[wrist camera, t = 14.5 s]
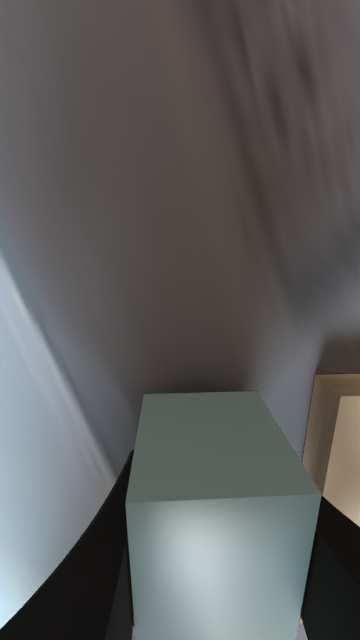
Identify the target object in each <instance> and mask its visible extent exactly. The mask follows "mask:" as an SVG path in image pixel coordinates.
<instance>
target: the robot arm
mask: <svg viewBox="0 0 360 640" xmlns="http://www.w3.org/2000/svg"><path fill="white" fill-rule="evenodd" d="M133 455H134V450H132V451H131V452H130V454H129V457H128V459H127V461H126V463H125V465H124V468H123V470H122V472H121V473H120V475H119V477H118V479H117V481H116V483H115V485H114V486H113V488H112V490H111V492H110V493H109V495H108V497H107V498H106V500H105V502H104V503H103V505H102V506H101V508H100V510H99V511H98V513H97V514H96V516H95V517H94V519H93V520H92V522H91V523H90V525H89V526H88V528H87V529H86V530H85V532H84V533H83V535H82V536H81V537H80V539H79V540H78V541H77V543H76V544H75V545H74V547H73V548H72V549H71V550H70V552H69V553H68V554H67V556H66V557H65V558H64V559H63V561H62V562H61V563H60V564H59V566H58V567H57V568H56V569H55V570H54V572H53V573H52V574H51V575H50V576H49V577H48V579H47V580H46V581H45V582H44V583H43V584H42V585H41V586H40V588H39V589H38V590H37V591H36V592H35V593H34V594H33V595H32V597H31V598H30V599H29V600H28V601H27V602H26V603H25V604H24V606H23V607H22V608H21V609H20V610H19V611H18V612H17V613H16V614H15V615H14V616H13V617H12V618H11V619H10V620H9V621H8V622H7V623H6V624H5V625H4V626H3V627H2V628H1V629H0V640H136V636H135V625H134V626H133V619H134V610H133V597H132V584H131V571H130V558H129V545H128V531H127V518H126V505H125V502H126V496H127V490H128V484H129V478H130V472H131V467H132V461H133ZM300 615H301V618H302V622H303V625H304V628H305V632H306V635H307V638H308V640H360V527H359V526H358V525H357V524H355V523H354V522H353V521H352V520H350V519H349V518H348V517H347V516H345V515H344V514H343V513H342V512H341V511H339V510H338V509H337V508H336V507H335V506H333V505H332V504H331V503H330V502H329V501H328V500H327V499H325V498H324V497H323V496H321V501H320V507H319V513H318V518H317V524H316V529H315V535H314V540H313V546H312V552H311V557H310V563H309V568H308V574H307V579H306V585H305V591H304V596H303V602H302V607H301V613H300Z"/></svg>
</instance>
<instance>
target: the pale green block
mask: <svg viewBox="0 0 360 640" xmlns="http://www.w3.org/2000/svg"><path fill="white" fill-rule="evenodd" d="M321 496H322V494H321V492H320V490H319V489H318V487H317V486H316V484H315V482H314V481H313V479H312V478H311V476H310V475H309V473H308V471H307V470H306V468H305V467H304V465H303V464H302V462H301V460H300V459H299V457H298V456H297V454H296V453H295V451H294V449H293V448H292V446H291V445H290V443H289V441H288V440H287V438H286V437H285V435H284V434H283V432H282V430H281V429H280V427H279V426H278V424H277V423H276V421H275V419H274V418H273V416H272V415H271V413H270V412H269V410H268V408H267V407H266V405H265V404H264V402H263V400H262V399H261V397H260V396H259V394H258V393H257V391H240V392H204V393H169V394H144V395H143V401H142V407H141V413H140V419H139V425H138V431H137V437H136V443H135V449H134V455H133V461H132V467H131V472H130V478H129V484H128V490H127V496H126V502H125V505H126V518H127V531H128V545H129V558H130V571H131V584H132V597H133V610H134V623H135V636H136V640H296V635H297V630H298V624H299V618H300V613H301V607H302V602H303V596H304V591H305V585H306V579H307V574H308V568H309V563H310V557H311V552H312V546H313V540H314V535H315V529H316V524H317V518H318V513H319V507H320V501H321Z"/></svg>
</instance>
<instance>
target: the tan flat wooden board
mask: <svg viewBox="0 0 360 640" xmlns="http://www.w3.org/2000/svg"><path fill="white" fill-rule="evenodd" d="M302 464H303V465H304V467H305V468H306V470H307V471H308V473H309V475H310V476H311V478H312V479H313V481H314V482H315V484H316V486H317V487H318V489H319V490H320V492H321V494H322V496H323V497H324V498H325V499H327V500H328V501H329V502H330V503H331V504H332V505H333V506H335V507H336V508H337V509H338V510H339V511H341V512H342V513H343V514H344V515H345V516H347V517H348V518H349V519H350V520H352V521H353V522H354V523H355V524H357V525H358V526H359V527H360V374H329V375H315V379H314V386H313V393H312V399H311V406H310V413H309V419H308V426H307V433H306V440H305V446H304V453H303V460H302ZM299 623H303V622H302V618H301V615H300V618H299Z"/></svg>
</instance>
